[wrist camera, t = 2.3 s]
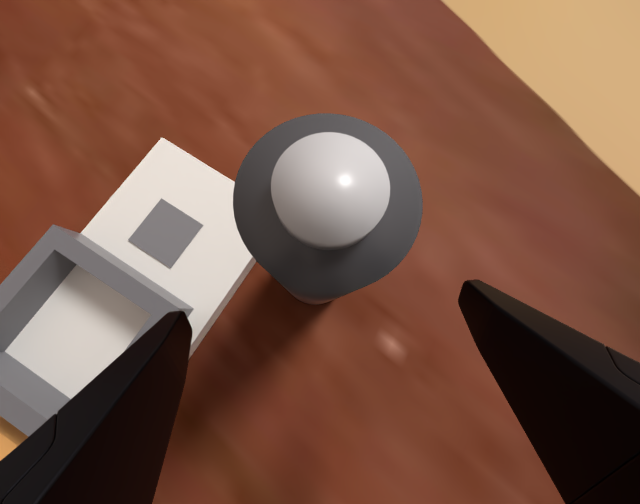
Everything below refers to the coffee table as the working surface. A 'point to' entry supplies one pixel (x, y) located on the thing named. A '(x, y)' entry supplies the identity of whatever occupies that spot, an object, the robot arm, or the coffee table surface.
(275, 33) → the coffee table surface
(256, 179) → the joystick
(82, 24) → the coffee table surface
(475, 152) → the coffee table surface
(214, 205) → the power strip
